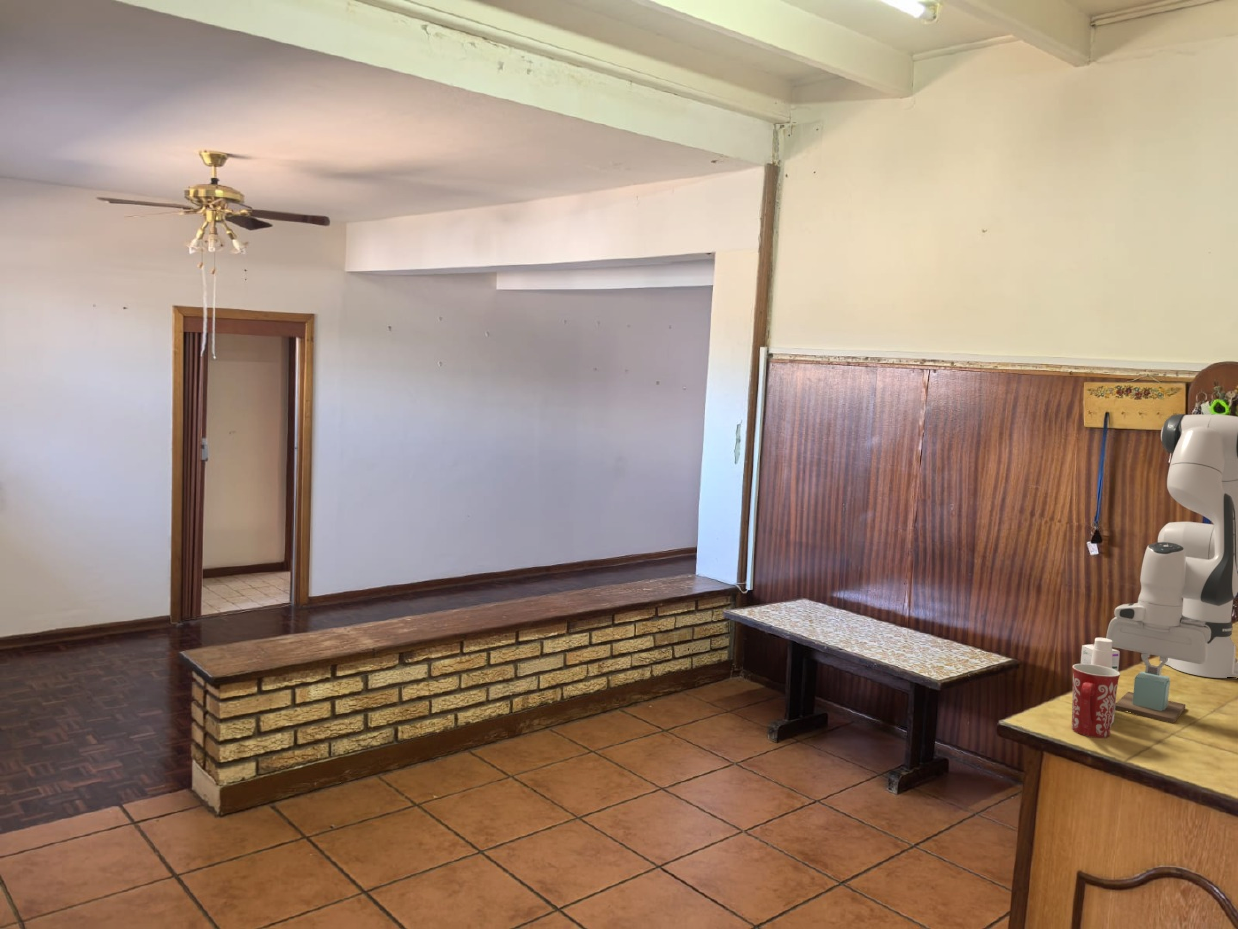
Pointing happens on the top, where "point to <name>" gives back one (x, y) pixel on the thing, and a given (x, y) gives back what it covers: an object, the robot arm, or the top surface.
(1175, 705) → the post board
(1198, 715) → the top surface
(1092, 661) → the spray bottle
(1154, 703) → the pale teal box
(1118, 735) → the top surface
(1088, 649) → the syrup box
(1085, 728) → the mug
